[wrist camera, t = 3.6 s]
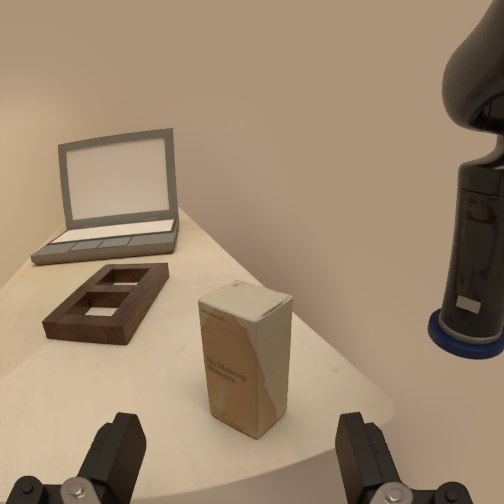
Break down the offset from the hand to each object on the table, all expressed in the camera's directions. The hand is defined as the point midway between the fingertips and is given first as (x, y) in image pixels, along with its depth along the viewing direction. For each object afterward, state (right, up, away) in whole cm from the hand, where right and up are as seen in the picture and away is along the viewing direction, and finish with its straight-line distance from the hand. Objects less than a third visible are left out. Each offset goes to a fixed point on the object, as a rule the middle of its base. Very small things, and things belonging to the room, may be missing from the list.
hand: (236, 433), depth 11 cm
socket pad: (-20, -1, +34) cm, 40 cm away
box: (0, -7, +14) cm, 15 cm away
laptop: (-35, +9, +67) cm, 76 cm away
